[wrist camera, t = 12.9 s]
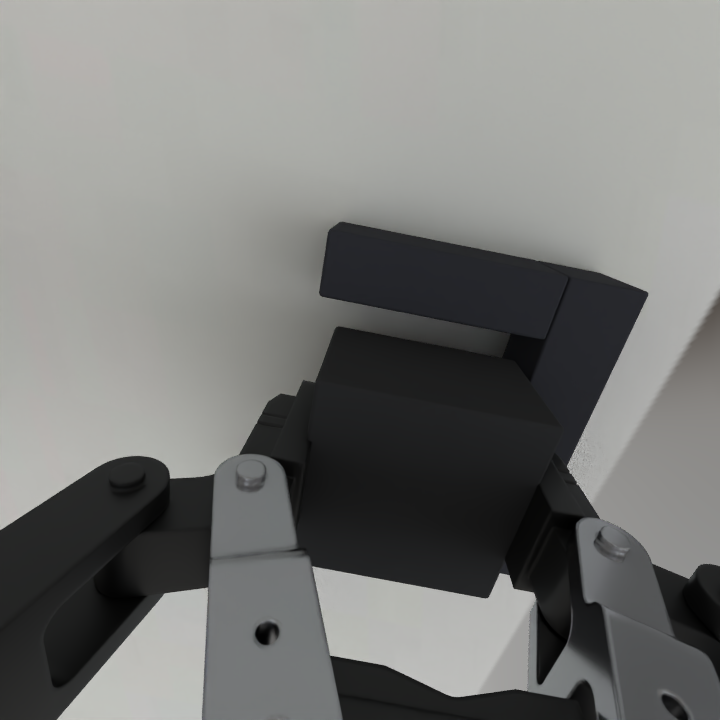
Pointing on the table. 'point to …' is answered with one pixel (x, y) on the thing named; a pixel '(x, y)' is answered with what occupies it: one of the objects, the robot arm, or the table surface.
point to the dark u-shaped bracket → (497, 308)
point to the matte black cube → (420, 461)
